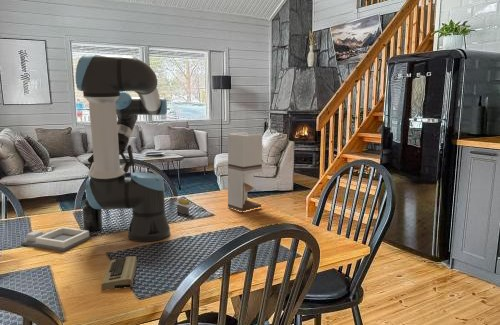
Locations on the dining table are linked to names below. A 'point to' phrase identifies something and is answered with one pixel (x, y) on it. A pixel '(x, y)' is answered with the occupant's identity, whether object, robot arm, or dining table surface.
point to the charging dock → (56, 238)
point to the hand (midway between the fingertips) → (105, 177)
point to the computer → (120, 273)
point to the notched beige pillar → (243, 168)
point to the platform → (183, 206)
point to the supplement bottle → (91, 218)
